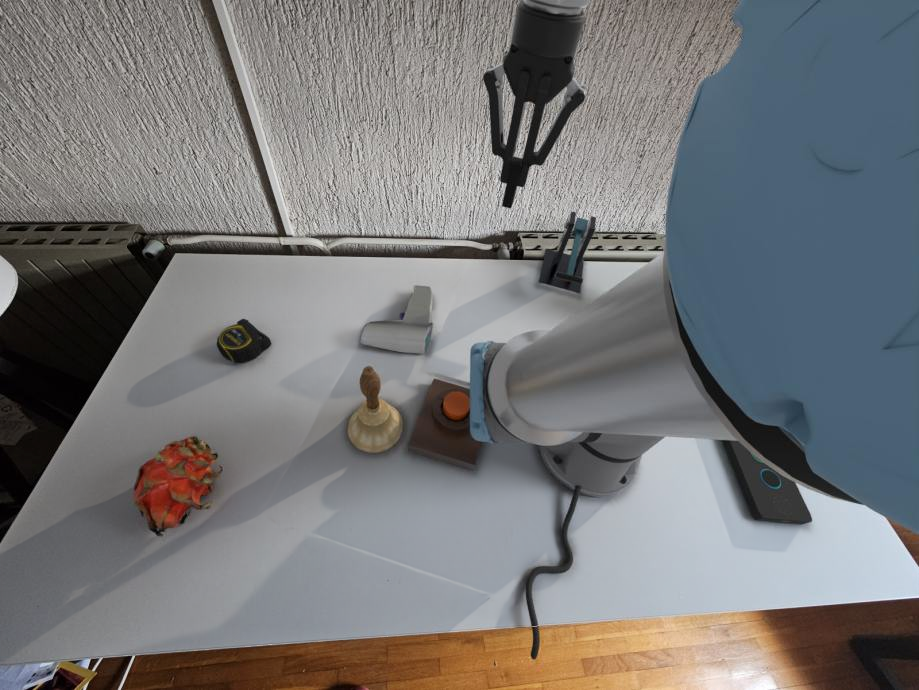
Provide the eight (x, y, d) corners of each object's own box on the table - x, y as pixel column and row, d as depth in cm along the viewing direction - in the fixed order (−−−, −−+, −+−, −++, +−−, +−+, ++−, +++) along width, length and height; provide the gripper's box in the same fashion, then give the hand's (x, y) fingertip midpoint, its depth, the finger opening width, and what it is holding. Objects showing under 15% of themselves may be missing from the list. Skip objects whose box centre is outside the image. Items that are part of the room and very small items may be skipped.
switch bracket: (578, 296, 81) (604, 243, 70) (537, 285, 82) (557, 231, 71) (582, 262, 88) (606, 209, 77) (544, 252, 89) (563, 198, 78)
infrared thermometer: (434, 301, 77) (430, 357, 67) (374, 295, 76) (360, 352, 66) (436, 283, 74) (431, 340, 64) (372, 277, 73) (357, 334, 63)
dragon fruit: (221, 446, 55) (191, 539, 50) (151, 435, 51) (108, 536, 45) (238, 435, 50) (207, 537, 44) (161, 420, 45) (114, 533, 39)
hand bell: (410, 411, 60) (411, 352, 48) (391, 460, 55) (385, 407, 43) (362, 396, 61) (349, 334, 49) (338, 443, 56) (317, 386, 43)
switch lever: (579, 287, 72) (583, 280, 70) (553, 280, 72) (556, 273, 70) (591, 229, 77) (595, 221, 75) (566, 223, 77) (570, 215, 75)
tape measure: (276, 349, 65) (270, 335, 62) (239, 374, 61) (230, 360, 58) (252, 328, 67) (245, 313, 64) (214, 350, 63) (205, 336, 61)
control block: (473, 470, 56) (477, 460, 52) (408, 450, 56) (408, 439, 53) (490, 402, 63) (495, 389, 60) (433, 385, 64) (434, 372, 61)
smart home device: (761, 517, 54) (711, 395, 66) (752, 520, 55) (705, 400, 68) (816, 522, 54) (757, 400, 67) (806, 525, 56) (750, 404, 68)
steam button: (465, 424, 56) (466, 418, 55) (439, 416, 56) (439, 410, 55) (471, 401, 59) (473, 395, 57) (446, 394, 59) (447, 388, 57)
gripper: (613, 9, 42) (551, 200, 61) (500, -14, 44) (473, 181, 62) (612, 24, 38) (545, 226, 56) (486, -1, 39) (461, 205, 58)
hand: (508, 202), depth 59 cm, fingers closed
